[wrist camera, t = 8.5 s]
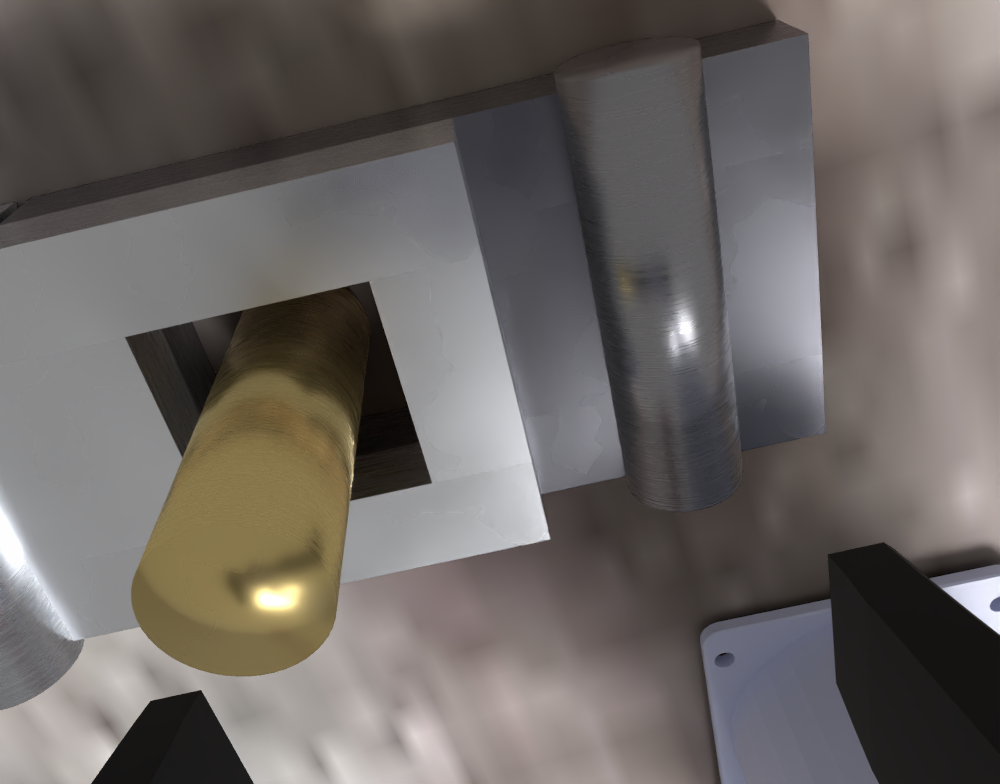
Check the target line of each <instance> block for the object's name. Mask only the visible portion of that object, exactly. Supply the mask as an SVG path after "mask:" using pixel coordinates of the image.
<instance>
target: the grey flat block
mask: <svg viewBox="0 0 1000 784" xmlns="http://www.w3.org/2000/svg"><path fill="white" fill-rule="evenodd" d="M451 118H452V120H453V124H454V129H455V133H456V137H457V141H458V145H459V149H460V154H461V158H462V162H463V166H464V170H465V174H466V179H467V183H468V187H469V191H470V195H471V199H472V204H473V208H474V212H475V216H476V220H477V224H478V228H479V233H480V237H481V241H482V245H483V249H484V253H485V258H486V262H487V266H488V270H489V274H490V278H491V283H492V287H493V291H494V295H495V299H496V303H497V308H498V312H499V316H500V320H501V324H502V328H503V333H504V337H505V341H506V345H507V349H508V353H509V358H510V362H511V366H512V370H513V374H514V378H515V383H516V387H517V391H518V395H519V399H520V403H521V408H522V412H523V416H524V420H525V424H526V428H527V433H528V437H529V441H530V445H531V449H532V453H533V458H534V462H535V466H536V470H537V474H538V478H539V483H540V487H541V491H542V494H545V493H550V492H554V491H559V490H564V489H568V488H573V487H577V486H582V485H587V484H591V483H596V482H601V481H605V480H610V479H615V478H619V477H624V476H626V477H627V483H628V488H629V490H630V492H631V493H632V495H633V496H634V497H635V498H636V499H637V500H638V501H640V502H641V503H643V504H645V505H647V506H649V507H652V508H654V509H658V510H663V511H670V512H688V511H695V510H700V509H704V508H708V507H711V506H713V505H716V504H718V503H720V502H722V501H723V500H725V499H727V498H728V497H729V496H731V495H732V494H733V493H734V492H735V491H736V490H737V488H738V487H739V486H740V484H741V482H742V478H743V464H742V454H741V451H745V450H749V449H754V448H758V447H763V446H768V445H772V444H777V443H782V442H786V441H791V440H796V439H800V438H805V437H809V436H814V435H819V434H823V433H826V431H825V409H824V386H823V363H822V340H821V317H820V294H819V271H818V248H817V226H816V203H815V180H814V157H813V134H812V111H811V88H810V65H809V42H808V33H805V32H803V31H801V30H799V29H797V28H795V27H792V26H790V25H788V24H786V23H784V22H782V21H779V20H776V21H772V22H768V23H763V24H759V25H755V26H751V27H747V28H742V29H738V30H734V31H730V32H726V33H721V34H717V35H713V36H709V37H705V38H700V39H692V38H687V37H659V38H650V39H642V40H636V41H630V42H625V43H620V44H616V45H612V46H608V47H604V48H600V49H597V50H594V51H590V52H587V53H585V54H582V55H579V56H577V57H574V58H572V59H570V60H568V61H566V62H564V63H562V64H561V65H559V66H558V67H557V68H556V69H555V70H554V73H553V74H549V75H545V76H541V77H537V78H532V79H528V80H524V81H520V82H516V83H511V84H507V85H503V86H499V87H495V88H490V89H486V90H482V91H478V92H474V93H469V94H465V95H461V96H457V97H453V98H448V99H444V100H440V101H436V102H432V103H427V104H423V105H419V106H415V107H411V108H406V109H402V110H398V111H394V112H390V113H385V114H381V115H377V116H373V117H369V118H364V119H360V120H356V121H352V122H348V123H343V124H339V125H335V126H331V127H327V128H322V129H318V130H314V131H310V132H306V133H301V134H297V135H293V136H289V137H285V138H281V139H276V140H272V141H268V142H264V143H260V144H255V145H251V146H247V147H243V148H239V149H234V150H230V151H226V152H222V153H218V154H213V155H209V156H205V157H201V158H197V159H192V160H188V161H184V162H180V163H176V164H171V165H167V166H163V167H159V168H155V169H150V170H146V171H142V172H138V173H134V174H129V175H125V176H121V177H117V178H113V179H108V180H104V181H100V182H96V183H92V184H87V185H83V186H79V187H75V188H71V189H66V190H62V191H58V192H54V193H50V194H45V195H41V196H37V197H33V198H30V199H29V200H27V201H26V202H25V203H24V204H23V205H22V206H20V207H19V208H18V209H17V210H16V211H15V212H13V213H12V214H11V215H10V216H9V217H8V218H6V219H5V220H4V221H3V222H2V223H0V225H3V224H8V223H12V222H16V221H20V220H24V219H29V218H33V217H37V216H41V215H46V214H50V213H54V212H58V211H62V210H67V209H71V208H75V207H79V206H83V205H88V204H92V203H96V202H100V201H105V200H109V199H113V198H117V197H121V196H126V195H130V194H134V193H138V192H143V191H147V190H151V189H155V188H159V187H164V186H168V185H172V184H176V183H181V182H185V181H189V180H193V179H197V178H202V177H206V176H210V175H214V174H218V173H223V172H227V171H231V170H235V169H240V168H244V167H248V166H252V165H256V164H261V163H265V162H269V161H273V160H278V159H282V158H286V157H290V156H294V155H299V154H303V153H307V152H311V151H316V150H320V149H324V148H328V147H332V146H337V145H341V144H345V143H349V142H353V141H358V140H362V139H366V138H370V137H375V136H379V135H383V134H387V133H391V132H396V131H400V130H404V129H408V128H413V127H417V126H421V125H425V124H429V123H434V122H438V121H442V120H446V119H451ZM162 331H163V334H164V336H165V338H166V340H167V343H168V345H169V347H170V349H171V351H172V354H173V356H174V358H175V360H176V363H177V365H178V367H179V369H180V371H181V374H182V376H183V378H184V380H185V383H186V385H187V387H188V389H189V391H190V394H191V396H192V398H193V400H194V402H195V405H196V407H197V409H198V411H199V414H200V415H201V412H202V410H203V407H204V405H205V402H206V400H207V398H208V395H209V393H210V390H211V388H212V385H213V383H214V381H215V375H214V373H213V371H212V368H211V366H210V364H209V361H208V359H207V357H206V354H205V352H204V350H203V347H202V345H201V343H200V340H199V338H198V336H197V333H196V331H195V329H194V326H193V324H192V322H188V323H184V324H180V325H175V326H171V327H167V328H162ZM415 443H420V442H419V439H418V436H417V433H416V430H415V426H414V423H413V420H412V417H411V414H410V411H409V407H407V408H402V409H398V410H393V411H389V412H384V413H380V414H375V415H371V416H366V417H362V418H360V424H359V432H358V441H357V449H356V456H360V455H365V454H370V453H374V452H379V451H383V450H388V449H392V448H397V447H401V446H406V445H411V444H415Z"/></svg>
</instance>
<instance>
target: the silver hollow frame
mask: <svg viewBox="0 0 1000 784" xmlns="http://www.w3.org/2000/svg"><path fill="white" fill-rule="evenodd" d="M17 209H18V207H17V205H16V203H15V202H12V203H8V204H3V205H0V223H2V222H3V221H4V220H5V219H6V218H8V217H9V216H10V215H11V214H12V213H13V212H15V211H16V210H17ZM367 281H369V283H370V286H371V289H372V292H373V296H374V299H375V302H376V305H377V308H378V312H379V315H380V318H381V321H382V324H383V328H384V331H385V334H386V337H387V340H388V344H389V347H390V350H391V353H392V356H393V359H394V363H395V366H396V369H397V372H398V375H399V379H400V382H401V385H402V388H403V391H404V395H405V398H406V401H407V404H408V407H409V411H410V414H411V417H412V420H413V423H414V426H415V430H416V433H417V436H418V439H419V442H420V443H415V444H411V445H406V446H401V447H397V448H392V449H388V450H383V451H379V452H374V453H370V454H365V455H360V456H356V457H355V465H354V473H353V481H352V489H351V497H350V505H349V513H348V522H347V530H346V538H345V546H344V554H343V562H342V570H341V578H340V584H343V583H348V582H353V581H357V580H362V579H367V578H372V577H376V576H381V575H386V574H390V573H395V572H400V571H404V570H409V569H414V568H419V567H423V566H428V565H433V564H437V563H442V562H447V561H451V560H456V559H461V558H465V557H470V556H475V555H480V554H484V553H489V552H494V551H498V550H503V549H508V548H512V547H517V546H522V545H527V544H531V543H536V542H541V541H545V540H550V534H549V529H548V523H547V518H546V512H545V507H544V501H543V495H542V491H541V487H540V483H539V478H538V474H537V470H536V466H535V462H534V458H533V453H532V449H531V445H530V441H529V437H528V433H527V428H526V424H525V420H524V416H523V412H522V408H521V403H520V399H519V395H518V391H517V387H516V383H515V378H514V374H513V370H512V366H511V362H510V358H509V353H508V349H507V345H506V341H505V337H504V333H503V328H502V324H501V320H500V316H499V312H498V308H497V303H496V299H495V295H494V291H493V287H492V283H491V278H490V274H489V270H488V266H487V262H486V258H485V253H484V249H483V245H482V241H481V237H480V233H479V228H478V224H477V220H476V216H475V212H474V208H473V204H472V199H471V195H470V191H469V187H468V183H467V179H466V174H465V170H464V166H463V162H462V158H461V154H460V149H459V145H458V141H457V137H456V133H455V129H454V124H453V120H452V118H451V119H446V120H442V121H438V122H434V123H429V124H425V125H421V126H417V127H413V128H408V129H404V130H400V131H396V132H391V133H387V134H383V135H379V136H375V137H370V138H366V139H362V140H358V141H353V142H349V143H345V144H341V145H337V146H332V147H328V148H324V149H320V150H316V151H311V152H307V153H303V154H299V155H294V156H290V157H286V158H282V159H278V160H273V161H269V162H265V163H261V164H256V165H252V166H248V167H244V168H240V169H235V170H231V171H227V172H223V173H218V174H214V175H210V176H206V177H202V178H197V179H193V180H189V181H185V182H181V183H176V184H172V185H168V186H164V187H159V188H155V189H151V190H147V191H143V192H138V193H134V194H130V195H126V196H121V197H117V198H113V199H109V200H105V201H100V202H96V203H92V204H88V205H83V206H79V207H75V208H71V209H67V210H62V211H58V212H54V213H50V214H46V215H41V216H37V217H33V218H29V219H24V220H20V221H16V222H12V223H8V224H3V225H0V710H3V709H7V708H10V707H13V706H16V705H19V704H21V703H23V702H26V701H28V700H30V699H32V698H33V697H35V696H37V695H38V694H40V693H42V692H43V691H45V690H46V689H48V688H49V687H50V686H52V685H53V684H54V683H55V682H57V681H58V680H59V679H60V678H61V677H62V676H63V675H64V674H65V673H66V672H67V671H68V670H69V669H70V668H71V666H72V665H73V664H74V662H75V661H76V659H77V658H78V656H79V654H80V652H81V650H82V647H83V643H84V639H85V638H90V637H95V636H99V635H104V634H109V633H113V632H118V631H123V630H127V629H132V628H137V627H140V625H139V623H138V621H137V620H136V617H135V614H134V612H133V608H132V602H131V587H132V581H133V578H134V575H135V573H136V570H137V568H138V565H139V563H140V560H141V558H142V555H143V553H144V551H145V548H146V546H147V543H148V541H149V538H150V536H151V534H152V531H153V529H154V526H155V524H156V521H157V519H158V517H159V514H160V512H161V509H162V507H163V504H164V502H165V500H166V497H167V495H168V492H169V490H170V487H171V485H172V483H173V480H174V478H175V475H176V473H177V470H178V468H179V466H180V463H181V461H182V458H183V456H184V453H185V451H186V449H187V446H188V444H189V441H190V439H191V436H192V434H193V432H194V429H195V427H196V424H197V422H198V419H199V417H200V414H199V411H198V409H197V407H196V405H195V402H194V400H193V398H192V396H191V394H190V391H189V389H188V387H187V385H186V383H185V380H184V378H183V376H182V374H181V371H180V369H179V367H178V365H177V363H176V360H175V358H174V356H173V354H172V351H171V349H170V347H169V345H168V343H167V340H166V338H165V336H164V334H163V331H162V328H167V327H171V326H175V325H180V324H184V323H188V322H193V321H197V320H202V319H206V318H210V317H215V316H219V315H223V314H228V313H232V312H236V311H241V310H245V309H250V308H254V307H258V306H263V305H267V304H271V303H276V302H280V301H284V300H289V299H293V298H298V297H302V296H306V295H311V294H315V293H319V292H324V291H328V290H332V289H337V288H341V287H346V286H350V285H354V284H359V283H363V282H367Z"/></svg>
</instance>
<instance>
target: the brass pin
mask: <svg viewBox="0 0 1000 784" xmlns="http://www.w3.org/2000/svg"><path fill="white" fill-rule="evenodd" d="M369 343H370V325H369V321H368V317H367V314H366V312H365V310H364V308H363V306H362V305H361V303H360V302H359V300H358V299H357V298H356V297H355V296H354V294H353V293H351V292H350V291H349V290H348V289H347V288H346V287H341V288H337V289H332V290H328V291H324V292H319V293H315V294H311V295H306V296H302V297H298V298H293V299H289V300H284V301H280V302H276V303H271V304H267V305H263V306H258V307H254V308H250V309H245V310H243V313H242V315H241V317H240V320H239V322H238V325H237V327H236V330H235V332H234V334H233V337H232V339H231V342H230V344H229V347H228V349H227V351H226V354H225V356H224V359H223V361H222V364H221V366H220V368H219V371H218V373H217V376H216V378H215V381H214V383H213V385H212V388H211V390H210V393H209V395H208V398H207V400H206V402H205V405H204V407H203V410H202V412H201V415H200V417H199V419H198V422H197V424H196V427H195V429H194V432H193V434H192V436H191V439H190V441H189V444H188V446H187V449H186V451H185V453H184V456H183V458H182V461H181V463H180V466H179V468H178V470H177V473H176V475H175V478H174V480H173V483H172V485H171V487H170V490H169V492H168V495H167V497H166V500H165V502H164V504H163V507H162V509H161V512H160V514H159V517H158V519H157V521H156V524H155V526H154V529H153V531H152V534H151V536H150V538H149V541H148V543H147V546H146V548H145V551H144V553H143V555H142V558H141V560H140V563H139V565H138V568H137V570H136V573H135V575H134V578H133V581H132V587H131V602H132V608H133V612H134V614H135V617H136V620H137V621H138V623H139V625H140V627H141V629H142V630H143V631H144V633H145V634H146V635H147V637H148V638H149V639H150V640H151V641H152V642H153V643H154V644H155V645H156V646H157V647H158V648H160V649H161V650H162V651H163V652H165V653H166V654H168V655H169V656H171V657H172V658H174V659H176V660H177V661H179V662H181V663H184V664H186V665H188V666H190V667H193V668H196V669H198V670H202V671H206V672H209V673H214V674H220V675H226V676H257V675H264V674H269V673H274V672H277V671H281V670H284V669H287V668H289V667H291V666H294V665H296V664H298V663H299V662H301V661H303V660H305V659H306V658H308V657H309V656H310V655H311V654H313V653H314V652H315V651H316V650H317V649H318V648H319V647H320V646H321V645H322V644H323V643H324V641H325V640H326V639H327V637H328V636H329V634H330V632H331V630H332V628H333V625H334V622H335V618H336V611H337V603H338V595H339V586H340V578H341V570H342V562H343V554H344V546H345V538H346V530H347V522H348V513H349V505H350V497H351V489H352V481H353V473H354V465H355V457H356V449H357V441H358V432H359V424H360V416H361V408H362V400H363V392H364V384H365V376H366V368H367V359H368V351H369Z"/></svg>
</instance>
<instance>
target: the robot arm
mask: <svg viewBox="0 0 1000 784" xmlns="http://www.w3.org/2000/svg"><path fill="white" fill-rule="evenodd" d="M828 564H829V580H830V595H831V599H827V600H822V601H817V602H812V603H807V604H803V605H798V606H793V607H788V608H783V609H778V610H774V611H769V612H764V613H759V614H754V615H749V616H744V617H740V618H735V619H730V620H725V621H720V622H716V623H713V624H711V625H709V626H708V627H706V628H705V629H704V630H703V632H702V633H701V635H700V644H701V651H702V658H703V665H704V671H705V678H706V685H707V692H708V699H709V706H710V712H711V719H712V726H713V733H714V740H715V747H716V753H717V760H718V767H719V774H720V781H721V784H1000V565H991V566H986V567H982V568H977V569H972V570H967V571H962V572H957V573H953V574H948V575H943V576H938V577H933V578H928V577H927V576H926V575H924V574H923V573H922V572H921V571H920V570H918V569H917V568H916V567H915V566H914V565H912V564H911V563H910V562H909V561H908V560H906V559H905V558H904V557H903V556H902V555H900V554H899V553H898V552H897V551H896V550H894V549H893V548H891V547H890V546H888V545H887V544H885V543H879V544H874V545H869V546H865V547H860V548H856V549H851V550H846V551H842V552H837V553H832V554H828ZM997 597H998V598H997ZM995 598H997V599H995ZM722 653H727V654H725V655H722V656H718V655H719V654H722ZM91 784H254V783H253V781H252V780H251V778H250V776H249V774H248V773H247V771H246V769H245V767H244V765H243V764H242V762H241V760H240V758H239V757H238V755H237V753H236V751H235V749H234V748H233V746H232V744H231V742H230V741H229V739H228V737H227V735H226V733H225V732H224V730H223V728H222V726H221V725H220V723H219V721H218V719H217V717H216V716H215V714H214V712H213V710H212V709H211V707H210V705H209V703H208V701H207V700H206V698H205V696H204V694H203V693H202V691H201V690H199V691H195V692H190V693H186V694H181V695H176V696H172V697H167V698H162V699H158V700H153V701H150V703H149V704H148V705H147V707H146V708H145V709H144V711H143V712H142V713H141V715H140V716H139V717H138V719H137V720H136V721H135V723H134V724H133V725H132V727H131V728H130V730H129V731H128V732H127V734H126V735H125V737H124V738H123V739H122V741H121V742H120V744H119V745H118V747H117V748H116V749H115V751H114V752H113V754H112V755H111V756H110V758H109V759H108V761H107V762H106V764H105V765H104V766H103V768H102V769H101V771H100V772H99V774H98V775H97V776H96V778H95V779H94V781H93V782H92V783H91Z"/></svg>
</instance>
